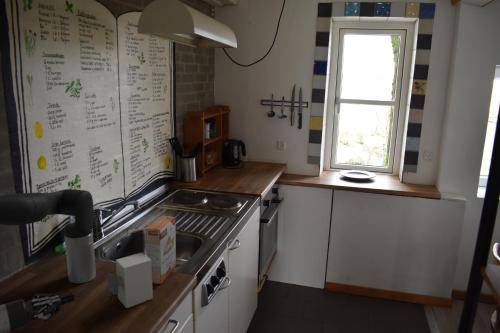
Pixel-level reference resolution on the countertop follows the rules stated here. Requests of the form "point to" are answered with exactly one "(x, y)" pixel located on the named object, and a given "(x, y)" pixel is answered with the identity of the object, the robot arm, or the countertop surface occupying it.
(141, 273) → the key block
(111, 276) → the block
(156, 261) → the cracker box
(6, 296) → the countertop surface
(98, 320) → the countertop surface
